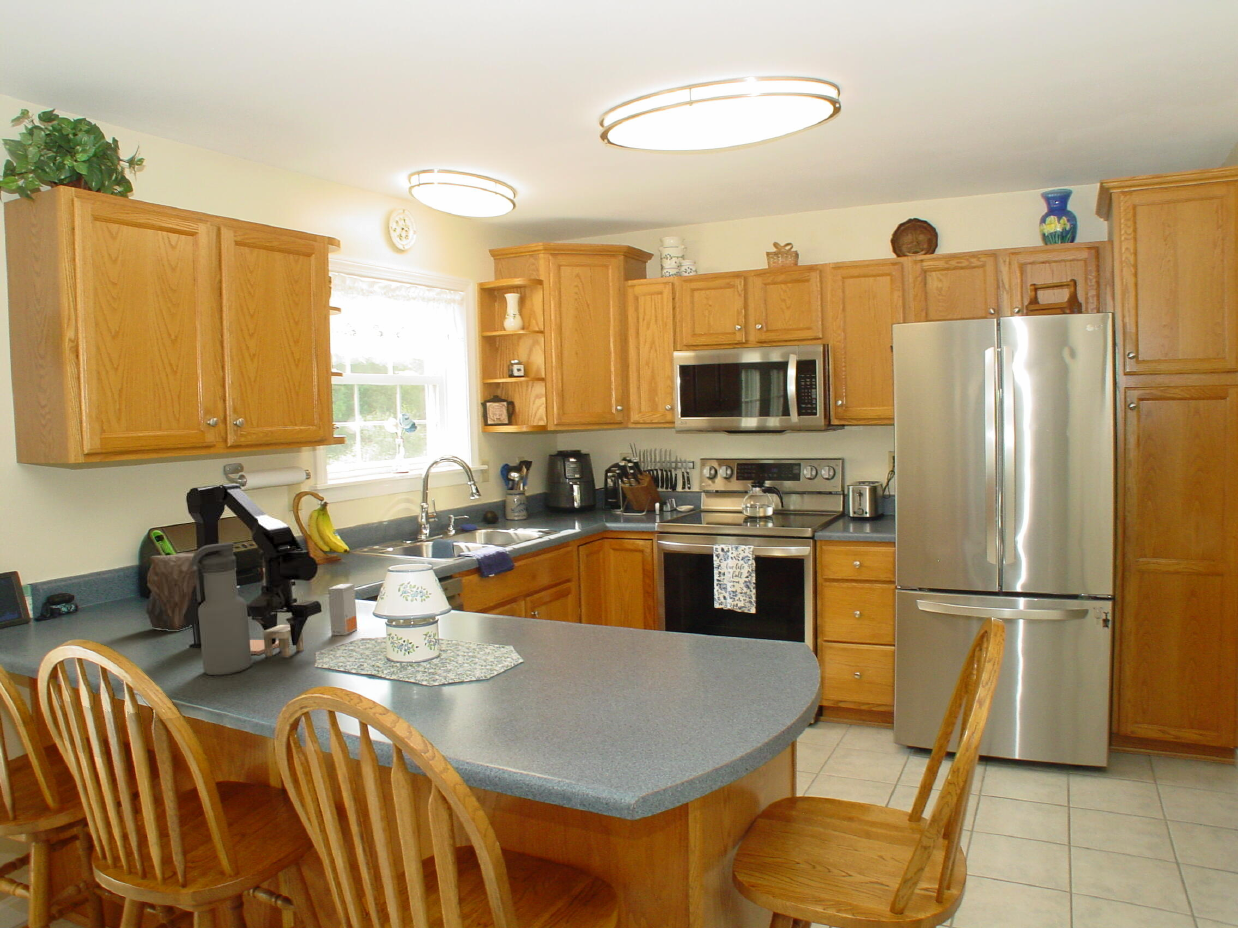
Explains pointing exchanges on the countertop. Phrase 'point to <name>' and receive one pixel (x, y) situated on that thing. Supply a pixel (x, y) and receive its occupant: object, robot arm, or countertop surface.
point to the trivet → (260, 646)
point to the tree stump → (170, 590)
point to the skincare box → (342, 609)
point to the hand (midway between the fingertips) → (284, 644)
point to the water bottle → (221, 612)
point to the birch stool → (280, 640)
